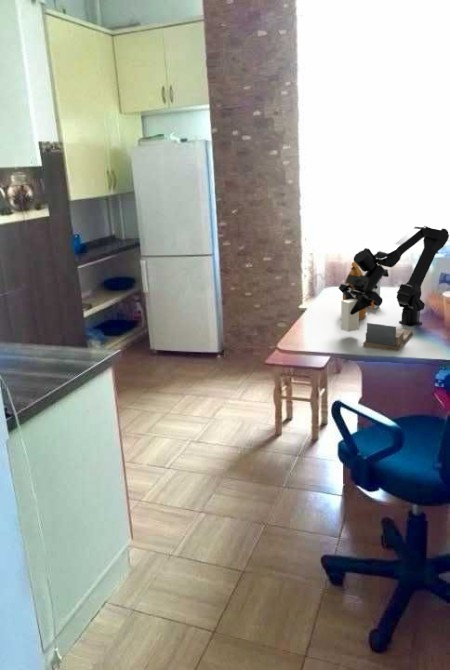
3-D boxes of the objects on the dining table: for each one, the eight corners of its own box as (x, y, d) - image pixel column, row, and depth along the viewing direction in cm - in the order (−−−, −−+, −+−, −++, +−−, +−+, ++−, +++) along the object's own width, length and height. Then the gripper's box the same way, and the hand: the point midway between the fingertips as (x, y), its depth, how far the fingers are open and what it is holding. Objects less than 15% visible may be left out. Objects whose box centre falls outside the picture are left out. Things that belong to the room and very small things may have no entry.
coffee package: (340, 319, 230) (341, 266, 223) (343, 311, 241) (344, 261, 234) (365, 320, 227) (366, 267, 220) (366, 311, 238) (368, 261, 231)
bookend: (367, 341, 196) (367, 323, 194) (395, 345, 191) (396, 326, 189) (366, 342, 196) (367, 323, 194) (394, 346, 191) (395, 326, 189)
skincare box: (362, 306, 246) (363, 280, 243) (367, 304, 249) (368, 278, 245) (374, 308, 242) (375, 282, 238) (379, 306, 245) (380, 280, 241)
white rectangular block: (351, 326, 209) (352, 298, 206) (358, 329, 206) (359, 300, 203) (341, 329, 207) (341, 300, 204) (348, 331, 204) (348, 302, 200)
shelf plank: (380, 330, 212) (380, 319, 211) (412, 334, 206) (413, 323, 205) (363, 346, 197) (363, 334, 195) (397, 351, 190) (397, 338, 189)
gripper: (342, 262, 209) (319, 295, 208) (377, 269, 193) (352, 305, 192) (358, 279, 215) (335, 312, 214) (393, 288, 199) (369, 323, 198)
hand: (347, 312), depth 204 cm, fingers closed on white rectangular block, 4 cm apart
